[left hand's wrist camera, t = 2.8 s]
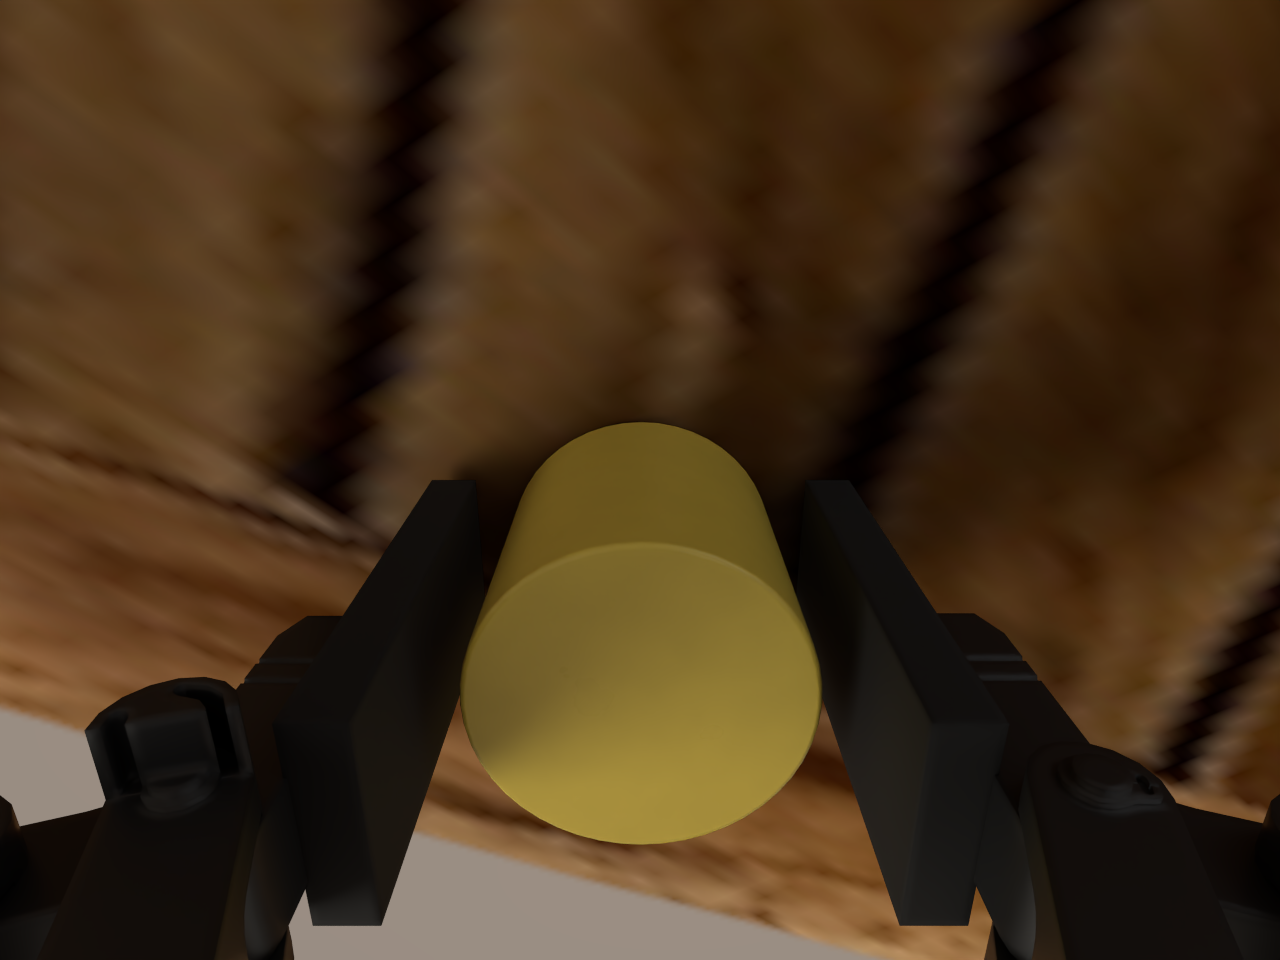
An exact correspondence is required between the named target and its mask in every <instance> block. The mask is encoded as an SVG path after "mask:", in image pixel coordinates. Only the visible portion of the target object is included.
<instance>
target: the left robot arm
mask: <svg viewBox="0 0 1280 960" xmlns="http://www.w3.org/2000/svg"><path fill="white" fill-rule="evenodd" d="M796 597H797V600H798V602H799V605H800V608H801V611H802V613H803V616H804V619H805V622H806V625H807V627H808V630H809V633H810V636H811V638H812V641H813V644H814V647H815V651H816V654H817V657H818V660H819V663H820V670H821V677H822V698H823V701H824V704H825V707H826V710H827V713H828V716H829V719H830V722H831V725H832V728H833V731H834V734H835V737H836V740H837V742H838V745H839V748H840V751H841V754H842V757H843V760H844V763H845V766H846V769H847V772H848V775H849V778H850V781H851V784H852V787H853V790H854V792H855V795H856V798H857V801H858V804H859V807H860V810H861V813H862V816H863V819H864V822H865V825H866V828H867V831H868V834H869V837H870V840H871V843H872V845H873V848H874V851H875V854H876V857H877V860H878V863H879V866H880V869H881V872H882V875H883V878H884V881H885V884H886V887H887V890H888V893H889V896H890V898H891V901H892V904H893V907H894V910H895V913H896V916H897V919H898V922H899V925H900V926H968V924H969V919H970V914H971V909H972V904H973V899H974V894H975V890H976V886H977V889H978V891H979V893H980V895H981V897H982V899H983V902H984V904H985V906H986V908H987V910H988V912H989V914H990V917H991V919H992V921H993V922H992V926H991V931H990V935H989V940H988V944H987V949H986V954H985V958H984V960H1280V794H1279V795H1278V796H1277V797H1276V798H1274V799H1273V800H1272V801H1271V803H1270V806H1269V808H1268V811H1267V814H1266V817H1265V819H1264V822H1263V823H1259V822H1254V821H1250V820H1245V819H1241V818H1236V817H1232V816H1227V815H1223V814H1218V813H1214V812H1209V811H1205V810H1200V809H1195V808H1192V807H1188V806H1185V805H1181V804H1178V803H1176V802H1175V799H1174V798H1173V796H1172V795H1171V794H1170V792H1169V791H1168V789H1167V788H1166V787H1165V785H1164V784H1163V782H1162V781H1161V780H1160V779H1159V778H1157V777H1156V776H1155V775H1154V774H1152V773H1151V772H1150V771H1148V770H1147V769H1146V768H1145V767H1143V766H1142V765H1141V764H1140V763H1138V762H1136V761H1134V760H1132V759H1130V758H1127V757H1125V756H1123V755H1121V754H1119V753H1117V752H1115V751H1113V750H1110V749H1107V748H1103V747H1099V746H1096V745H1092V744H1090V743H1089V742H1088V741H1087V739H1086V738H1085V737H1084V736H1083V734H1082V733H1081V732H1080V730H1079V729H1078V728H1077V727H1076V725H1075V724H1074V723H1073V721H1072V720H1071V719H1070V718H1069V716H1068V715H1067V714H1066V712H1065V711H1064V710H1063V708H1062V707H1061V706H1060V705H1059V703H1058V702H1057V701H1056V699H1055V698H1054V697H1053V696H1052V694H1051V693H1050V692H1049V690H1048V689H1047V688H1046V687H1045V685H1044V684H1043V683H1042V681H1038V680H1037V675H1036V674H1035V672H1034V671H1033V670H1032V668H1031V667H1030V666H1029V665H1028V663H1027V662H1026V661H1022V656H1021V654H1020V653H1019V652H1018V650H1017V649H1016V648H1015V647H1014V645H1013V644H1012V643H1011V641H1010V640H1009V639H1008V637H1007V636H1006V635H1005V634H1004V633H1003V632H1002V631H1000V630H998V629H997V628H995V627H994V626H992V625H991V624H989V623H988V622H986V621H985V620H983V619H982V618H980V617H979V616H977V615H976V614H974V613H936V612H935V610H934V608H933V607H932V605H931V604H930V602H929V601H928V599H927V598H926V596H925V595H924V593H923V592H922V590H921V589H920V587H919V586H918V584H917V583H916V581H915V580H914V578H913V577H912V575H911V574H910V572H909V571H908V569H907V567H906V566H905V564H904V563H903V561H902V560H901V558H900V557H899V555H898V554H897V552H896V551H895V549H894V548H893V546H892V545H891V543H890V542H889V540H888V539H887V537H886V536H885V534H884V533H883V531H882V530H881V528H880V526H879V525H878V523H877V522H876V520H875V519H874V517H873V516H872V514H871V513H870V511H869V510H868V508H867V507H866V505H865V504H864V502H863V501H862V499H861V498H860V496H859V495H858V493H857V492H856V490H855V489H854V487H853V485H852V484H851V482H850V481H849V480H806V481H805V493H804V506H803V518H802V530H801V543H800V555H799V568H798V580H797V592H796ZM484 600H485V592H484V580H483V567H482V555H481V542H480V530H479V517H478V505H477V492H476V480H432V481H431V483H430V484H429V486H428V487H427V489H426V490H425V492H424V493H423V495H422V496H421V498H420V499H419V501H418V502H417V504H416V505H415V507H414V508H413V510H412V511H411V513H410V515H409V516H408V518H407V519H406V521H405V522H404V524H403V525H402V527H401V528H400V530H399V531H398V533H397V534H396V536H395V537H394V539H393V540H392V542H391V543H390V545H389V546H388V548H387V549H386V551H385V552H384V554H383V556H382V557H381V559H380V560H379V562H378V563H377V565H376V566H375V568H374V569H373V571H372V572H371V574H370V575H369V577H368V578H367V580H366V581H365V583H364V584H363V586H362V587H361V589H360V590H359V592H358V594H357V595H356V597H355V598H354V600H353V601H352V603H351V604H350V606H349V607H348V609H347V610H346V612H345V613H344V615H343V616H307V617H305V618H304V619H302V620H301V621H299V622H298V623H296V624H295V625H293V626H292V627H290V628H289V629H287V630H286V631H284V632H282V633H281V634H279V635H278V636H277V637H276V638H275V640H274V641H273V642H272V644H271V645H270V646H269V647H268V649H267V650H266V651H265V653H264V654H263V655H262V657H261V658H260V662H259V664H255V666H254V667H253V668H252V670H251V671H250V672H249V673H248V675H247V676H246V677H245V682H244V684H240V685H239V686H238V688H237V689H236V690H235V689H234V688H233V687H232V686H230V685H229V684H228V683H227V682H225V681H221V680H217V679H212V678H207V677H195V678H178V679H174V680H170V681H166V682H162V683H158V684H154V685H150V686H148V687H145V688H143V689H141V690H138V691H136V692H134V693H131V694H129V695H127V696H124V697H122V698H121V699H119V700H118V701H116V702H115V703H113V704H112V705H110V706H109V707H107V708H106V709H104V710H103V711H102V712H100V713H99V714H98V715H97V716H96V717H95V719H94V720H93V721H92V722H91V723H90V725H89V726H88V727H87V728H86V729H85V734H86V737H87V741H88V744H89V747H90V750H91V754H92V757H93V760H94V763H95V767H96V770H97V773H98V776H99V779H100V783H101V786H102V789H103V792H104V796H105V799H106V801H105V803H104V805H103V807H101V808H98V809H94V810H91V811H87V812H83V813H79V814H74V815H69V816H65V817H60V818H56V819H52V820H47V821H42V822H38V823H33V824H29V825H24V826H19V824H18V821H17V818H16V815H15V813H14V810H13V807H12V804H11V803H9V802H8V801H7V800H5V799H4V798H3V797H2V796H0V960H294V954H293V947H292V940H291V935H290V931H289V926H288V925H289V923H290V921H291V919H292V917H293V915H294V912H295V910H296V908H297V906H298V904H299V902H300V899H301V897H302V895H303V893H304V891H305V889H306V894H307V899H308V904H309V909H310V914H311V919H312V924H313V926H381V925H382V922H383V919H384V916H385V913H386V910H387V907H388V904H389V902H390V899H391V896H392V893H393V889H394V887H395V884H396V881H397V878H398V875H399V872H400V869H401V866H402V863H403V860H404V857H405V854H406V851H407V849H408V846H409V843H410V840H411V837H412V834H413V831H414V828H415V825H416V822H417V819H418V816H419V813H420V810H421V807H422V804H423V801H424V798H425V796H426V793H427V790H428V787H429V784H430V781H431V778H432V775H433V772H434V769H435V766H436V763H437V760H438V757H439V754H440V751H441V748H442V745H443V743H444V740H445V737H446V734H447V731H448V728H449V725H450V722H451V719H452V716H453V713H454V710H455V707H456V704H457V701H458V698H459V695H460V679H461V672H462V665H463V661H464V658H465V655H466V651H467V648H468V645H469V642H470V639H471V636H472V634H473V631H474V628H475V625H476V622H477V620H478V617H479V614H480V611H481V608H482V606H483V603H484Z"/></svg>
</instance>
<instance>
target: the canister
mask: <svg viewBox="0 0 1280 960" xmlns="http://www.w3.org/2000/svg"><path fill="white" fill-rule="evenodd" d="M460 705H461V711H462V716H463V722H464V726H465V729H466V731H467V734H468V737H469V740H470V743H471V746H472V747H473V749H474V751H475V753H476V755H477V757H478V759H479V761H480V763H481V764H482V766H483V767H484V768H485V770H486V771H487V773H488V774H489V775H490V777H491V778H492V779H493V780H494V782H495V783H496V784H497V785H498V786H499V787H500V788H501V789H502V790H503V791H504V792H505V793H506V794H507V795H508V796H509V797H510V798H512V799H513V800H514V801H515V802H516V803H518V804H519V805H520V806H521V807H523V808H524V809H526V810H527V811H529V812H530V813H532V814H534V815H535V816H537V817H538V818H540V819H542V820H544V821H546V822H548V823H550V824H552V825H554V826H556V827H558V828H561V829H563V830H566V831H569V832H572V833H574V834H577V835H580V836H584V837H588V838H592V839H596V840H601V841H608V842H614V843H624V844H658V843H668V842H675V841H681V840H686V839H690V838H694V837H698V836H702V835H706V834H708V833H711V832H714V831H716V830H719V829H722V828H724V827H727V826H729V825H731V824H732V823H734V822H736V821H738V820H740V819H742V818H744V817H746V816H747V815H749V814H750V813H752V812H753V811H755V810H757V809H758V808H760V807H761V806H762V805H764V804H765V803H766V802H767V801H768V800H770V799H771V798H772V797H773V796H774V795H775V794H777V793H778V792H779V791H780V790H781V788H782V787H783V786H784V785H785V784H786V783H787V782H788V781H789V780H790V779H791V777H792V776H793V775H794V773H795V772H796V770H797V769H798V767H799V766H800V765H801V763H802V762H803V760H804V758H805V756H806V754H807V752H808V750H809V748H810V746H811V744H812V741H813V738H814V735H815V732H816V729H817V726H818V724H819V718H820V713H821V707H822V677H821V670H820V663H819V660H818V657H817V654H816V651H815V647H814V644H813V641H812V638H811V636H810V633H809V630H808V627H807V625H806V622H805V619H804V616H803V613H802V611H801V608H800V605H799V602H798V600H797V597H796V594H795V591H794V588H793V586H792V583H791V580H790V577H789V574H788V572H787V569H786V566H785V563H784V561H783V558H782V555H781V552H780V549H779V547H778V544H777V541H776V538H775V535H774V533H773V530H772V527H771V524H770V522H769V519H768V516H767V513H766V510H765V508H764V505H763V502H762V499H761V497H760V495H759V493H758V491H757V489H756V487H755V485H754V483H753V482H752V480H751V479H750V477H749V476H748V474H747V473H746V471H745V470H744V469H743V468H742V467H741V466H740V464H739V463H738V462H737V461H736V460H735V459H734V458H733V457H732V456H731V455H729V454H728V453H727V452H726V451H725V450H723V449H722V448H721V447H719V446H718V445H716V444H715V443H713V442H711V441H710V440H708V439H706V438H704V437H702V436H700V435H698V434H696V433H694V432H691V431H688V430H685V429H682V428H679V427H676V426H671V425H665V424H660V423H647V422H635V423H622V424H617V425H612V426H607V427H603V428H600V429H597V430H594V431H591V432H588V433H586V434H584V435H582V436H580V437H578V438H576V439H574V440H572V441H571V442H569V443H568V444H566V445H565V446H563V447H561V448H560V449H559V450H557V451H556V452H555V453H554V454H553V455H552V456H551V457H549V458H548V459H547V460H546V461H545V462H544V463H543V465H542V466H541V467H540V468H539V469H538V470H537V471H536V473H535V474H534V476H533V477H532V479H531V480H530V482H529V483H528V485H527V487H526V489H525V491H524V493H523V495H522V497H521V500H520V502H519V505H518V508H517V511H516V514H515V516H514V519H513V522H512V525H511V528H510V530H509V533H508V536H507V539H506V542H505V544H504V547H503V550H502V553H501V555H500V558H499V561H498V564H497V567H496V569H495V572H494V575H493V578H492V581H491V583H490V586H489V589H488V592H487V595H486V597H485V600H484V603H483V606H482V608H481V611H480V614H479V617H478V620H477V622H476V625H475V628H474V631H473V634H472V636H471V639H470V642H469V645H468V648H467V651H466V655H465V658H464V661H463V665H462V672H461V679H460Z"/></svg>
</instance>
